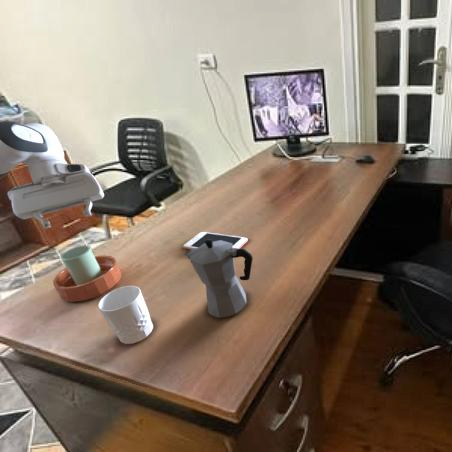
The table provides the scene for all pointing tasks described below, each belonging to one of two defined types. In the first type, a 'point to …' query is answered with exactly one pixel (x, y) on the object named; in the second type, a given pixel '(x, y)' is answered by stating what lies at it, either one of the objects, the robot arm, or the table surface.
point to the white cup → (127, 314)
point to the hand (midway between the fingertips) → (68, 221)
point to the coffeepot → (221, 275)
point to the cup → (81, 264)
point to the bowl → (92, 288)
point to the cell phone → (202, 236)
